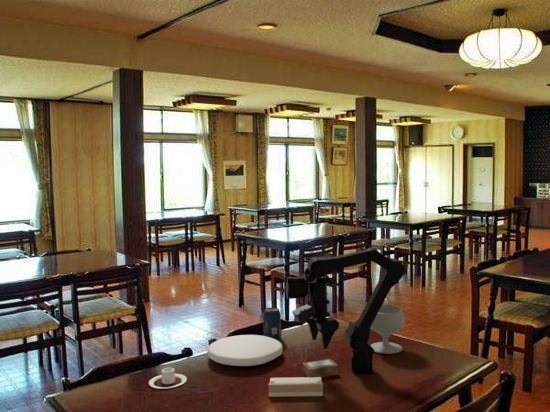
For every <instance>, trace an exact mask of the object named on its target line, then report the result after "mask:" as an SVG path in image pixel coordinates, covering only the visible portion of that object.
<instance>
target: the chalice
mask: <svg viewBox="0 0 550 412" xmlns="http://www.w3.org/2000/svg"><path fill="white" fill-rule="evenodd" d="M405 324H406V318H405V314H404V311H403V310H402V308H401V307H400V306H396V305H392V304H382V306H381V308H380V310H379V312H378V314H377V316H376V318H375V320H374V322H373V323H372V325H371V329H370V330H371V331H374V332H376V333H377V334H379V335H380V336H381V338H382V341H379V342H374V343H372V344H370V345H371V347H372V348H373V349H374V353H378V354H383V355H387V354H388V355H391V354H397V353H401V352H402V351H403V349H404V348H403V347H402V346H401V344H398V343H395V342H391V341H389V337H390V336H391V335H394V334H395V333H397V332H399V331H401V330H402V329H403V328H404V326H405Z"/></svg>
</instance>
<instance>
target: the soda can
mask: <svg viewBox="0 0 550 412" xmlns="http://www.w3.org/2000/svg"><path fill="white" fill-rule="evenodd" d="M281 315H282V314H281V311H280V309H279V308H277V307H267V308H266V307H265V308H264V311H263V313H262V323H263V325H262V326H263V336H266V337H270V338H273V339H276V340H277V341H280V340H281V338H282V319H281V318H282V317H281Z"/></svg>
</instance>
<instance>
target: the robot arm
mask: <svg viewBox="0 0 550 412" xmlns="http://www.w3.org/2000/svg"><path fill="white" fill-rule="evenodd" d="M371 262H373V263H374V264H376V265H377V266H379V267H380V271H379V275H378V281H377V284H376V285H375V287H374V289H373V291H372V293H371V295H370V297H369V298H368V301H367V302H366V305H365V307H364V308H363V310H362V312H361V314H360V316H359V318H358V319H356V321H355V322H353V321H351V320H350V321H349V323H348V327H347V329H345V330H344V331H345V333H344V334H345V335H344V336H345V341H346V343H347V344H348V345H349V347H350V348H351V349H352V350H351V352H352V353H351V354H352V355H350V369H351V371H352V372H353V374H354V375H359V374H360V375H362V374H366V375H367V374H369V375H370V374H372V375H373V374H374V373H375V371H374V369H373V365H374V364H373V355H374V353H375V352H374V349H373V348H372V347H371V344H370V343H369V339H370V336H371V335H370V334H371V330H372V329H371V325H372V323H373V322H374V320H375V318H376V316H377V314H378V312H379V310H380V308H381V306H382V305H384V302H385V301H386V300H387V299H386V298H387V297H388V295H389V293H390V291H391V289H392V288H393V287H394V286H395V285H397V284H398V283H399V282H400V280H401V279H402V278H403V276H404V275H405V272H406V267H405V265H404V263H403V262H401V261H399V260H397V259H395V258H393V257H387V256H386V255H385V254H383V253H381V252H380V251H379V250H378V249H377V248H374V247H368V248H366V249H362V250H357V251H353V252H349V253H345V254H341V255H336V256H313V257H311V258H310V259H309V260H308V262H307V266H306V269H305V270H304V272H303V273H302V274H301V276H298V277H295V276H294V277H291V276H288V277H286V285H285V294H286V299H287V300H290V299H292V300H293V299H305V298H306V297H307V296H308V295H309V298H307V300H306V303H305V305H302V306H299V307H298V308H296V309H293V310H292V311H291V312H292V314H293V317H294V319H295V321H296V322H297V323H298V324H303V323H304V322H305V323H307V325H308V329H309V331H310V335H311V338H312V340H313V341H315V340H317V338H318V334H319V333H320V336H321V343H322V347H323V350H324V349H328V347H329V345H330V342H331V340H332V338H333V337H334V335H335V333H336V331H338V330H339V329H340V322H339V321H338V320H337V319H335V318H334V317H331V314H330V312H329V311H328V305H329V304H330V302H331V300H329V299H328V284H333V283H334V281H333V280H332V279H331V278H330V276H329V275H331V274H332V273H334V272H335V271H338V270H340V269H341V270H342V269H344V268H345V269H346V268H349V267H353V266H358V265H361V264H366V263H367V264H368V263H371Z"/></svg>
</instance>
